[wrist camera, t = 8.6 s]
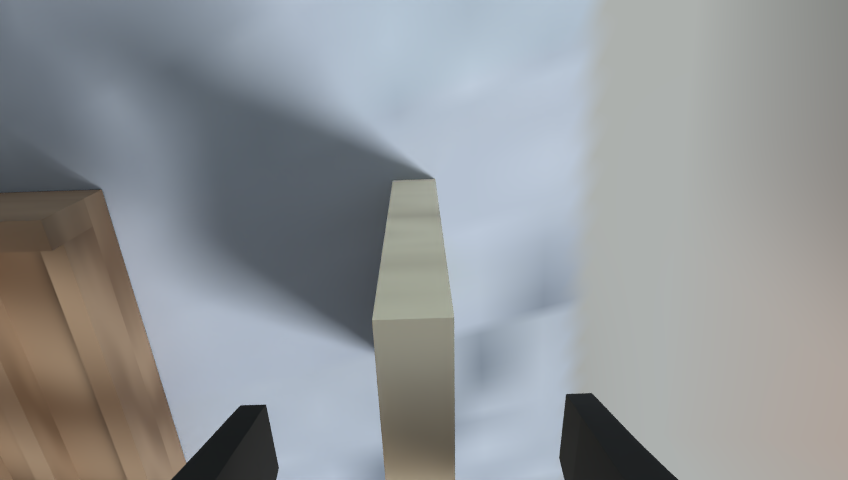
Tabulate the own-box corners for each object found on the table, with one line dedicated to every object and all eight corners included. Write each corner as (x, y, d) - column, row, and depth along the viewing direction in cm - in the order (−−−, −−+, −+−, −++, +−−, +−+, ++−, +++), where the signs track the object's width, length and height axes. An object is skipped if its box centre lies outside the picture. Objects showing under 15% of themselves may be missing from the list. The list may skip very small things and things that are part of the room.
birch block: (438, 363, 20) (455, 591, 12) (403, 364, 20) (395, 593, 12) (435, 178, 17) (454, 317, 9) (392, 180, 17) (371, 320, 9)
